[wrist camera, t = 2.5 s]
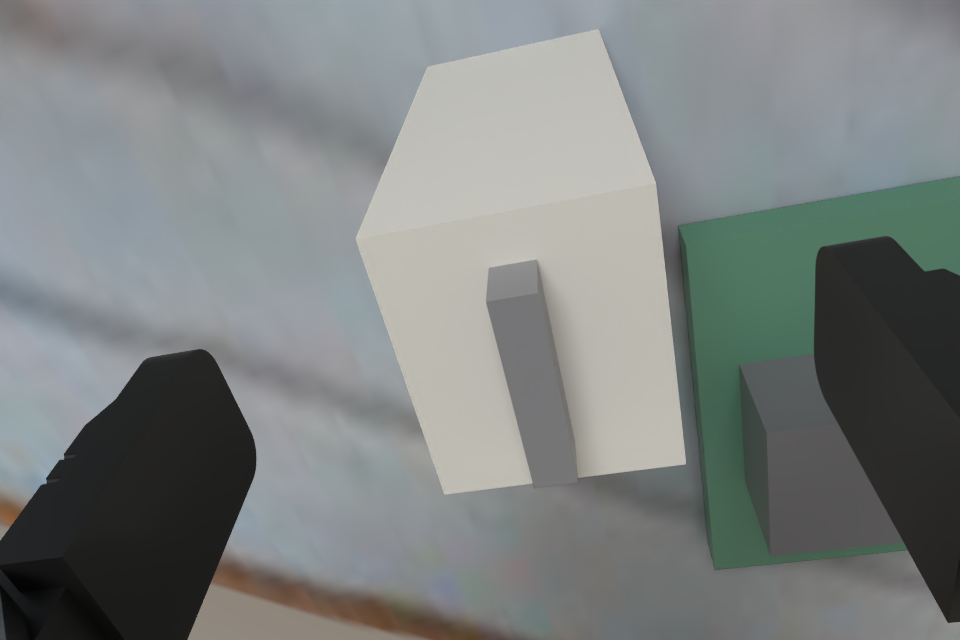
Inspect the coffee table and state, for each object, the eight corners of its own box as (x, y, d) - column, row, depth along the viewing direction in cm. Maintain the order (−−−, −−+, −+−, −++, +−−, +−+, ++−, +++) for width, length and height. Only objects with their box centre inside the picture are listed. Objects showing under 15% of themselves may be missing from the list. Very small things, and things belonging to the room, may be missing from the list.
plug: (598, 28, 15) (667, 213, 8) (624, 222, 18) (696, 505, 10) (427, 67, 16) (342, 271, 8) (474, 249, 18) (439, 535, 11)
